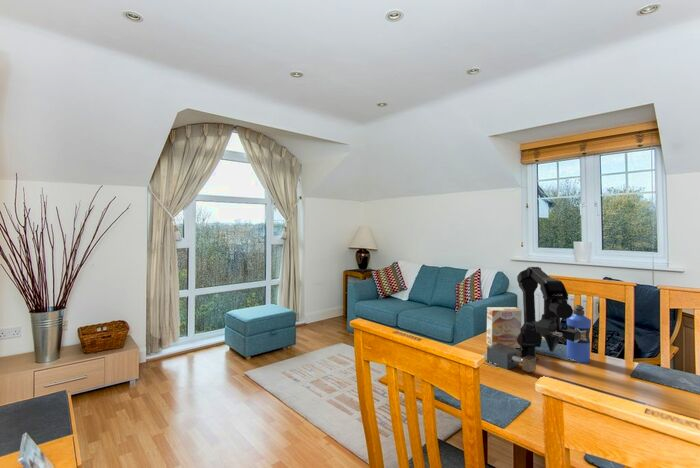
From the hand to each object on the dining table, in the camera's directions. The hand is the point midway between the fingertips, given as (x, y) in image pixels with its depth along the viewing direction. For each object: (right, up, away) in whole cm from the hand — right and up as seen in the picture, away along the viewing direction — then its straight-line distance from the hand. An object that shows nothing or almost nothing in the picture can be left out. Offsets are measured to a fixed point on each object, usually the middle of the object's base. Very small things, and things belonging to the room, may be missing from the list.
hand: (551, 351), depth 138 cm
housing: (-11, -11, +18) cm, 24 cm away
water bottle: (+25, -11, +22) cm, 36 cm away
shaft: (-9, -10, +14) cm, 19 cm away
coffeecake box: (-2, -11, +40) cm, 41 cm away
